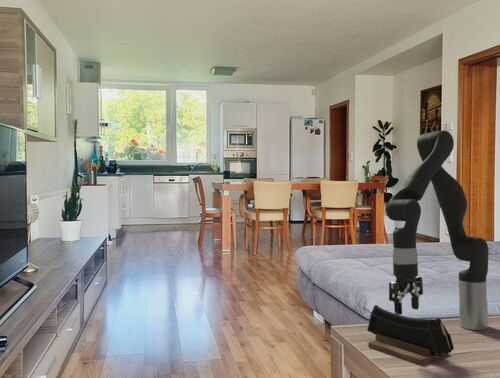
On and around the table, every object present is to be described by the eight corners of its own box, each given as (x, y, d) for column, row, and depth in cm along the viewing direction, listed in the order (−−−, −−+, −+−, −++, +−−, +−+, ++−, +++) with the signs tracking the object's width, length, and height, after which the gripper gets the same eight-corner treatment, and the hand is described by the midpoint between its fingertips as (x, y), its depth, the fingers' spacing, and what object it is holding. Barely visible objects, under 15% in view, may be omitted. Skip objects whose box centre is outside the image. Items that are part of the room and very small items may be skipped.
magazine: (361, 307, 162) (433, 297, 138) (367, 305, 163) (439, 296, 140) (373, 358, 158) (450, 356, 134) (379, 355, 159) (456, 354, 136)
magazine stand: (395, 337, 160) (395, 327, 160) (448, 354, 144) (448, 343, 144) (368, 346, 152) (368, 336, 152) (421, 365, 136) (420, 353, 136)
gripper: (409, 257, 155) (410, 305, 155) (381, 262, 147) (383, 313, 147) (428, 259, 149) (430, 309, 149) (401, 265, 141) (402, 318, 141)
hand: (406, 311), depth 148 cm, fingers open, 8 cm apart
